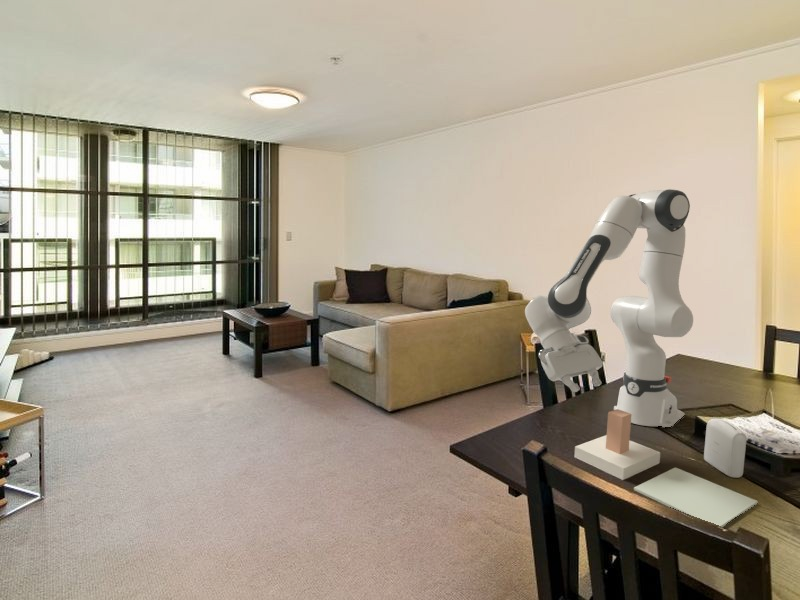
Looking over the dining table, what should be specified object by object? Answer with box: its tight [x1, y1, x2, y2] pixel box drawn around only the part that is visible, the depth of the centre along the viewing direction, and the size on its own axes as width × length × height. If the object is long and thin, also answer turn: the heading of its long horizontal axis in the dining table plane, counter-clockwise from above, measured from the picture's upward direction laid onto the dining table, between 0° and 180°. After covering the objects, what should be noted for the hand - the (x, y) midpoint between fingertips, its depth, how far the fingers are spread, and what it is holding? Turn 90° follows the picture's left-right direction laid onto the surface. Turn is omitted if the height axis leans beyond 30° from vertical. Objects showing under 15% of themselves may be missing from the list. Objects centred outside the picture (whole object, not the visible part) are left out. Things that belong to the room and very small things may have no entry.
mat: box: [633, 467, 759, 528], centre depth 109 cm, size 18×18×1 cm
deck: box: [573, 434, 661, 481], centre depth 126 cm, size 16×14×3 cm
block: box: [606, 409, 632, 454], centre depth 125 cm, size 4×4×10 cm
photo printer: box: [703, 418, 747, 479], centre depth 121 cm, size 10×4×12 cm, turn 3°
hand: (587, 388), depth 132 cm, fingers open, 8 cm apart
